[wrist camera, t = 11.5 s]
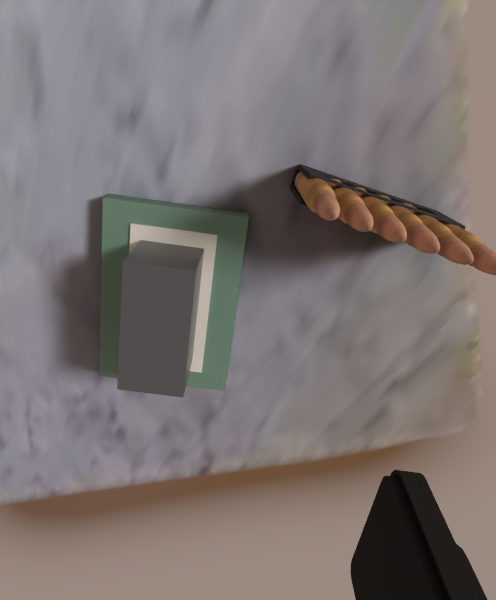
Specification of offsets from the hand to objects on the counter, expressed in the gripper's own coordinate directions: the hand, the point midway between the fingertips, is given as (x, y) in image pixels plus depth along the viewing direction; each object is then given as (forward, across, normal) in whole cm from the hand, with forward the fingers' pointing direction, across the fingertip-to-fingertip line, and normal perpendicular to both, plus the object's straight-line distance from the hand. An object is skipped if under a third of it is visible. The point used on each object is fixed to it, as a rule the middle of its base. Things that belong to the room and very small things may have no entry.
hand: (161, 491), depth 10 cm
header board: (+26, +3, +7) cm, 27 cm away
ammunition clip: (+26, -10, -2) cm, 28 cm away
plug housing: (+24, +3, +7) cm, 25 cm away
